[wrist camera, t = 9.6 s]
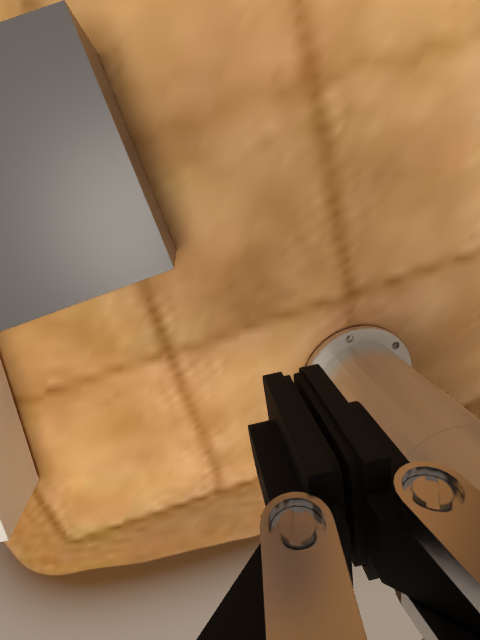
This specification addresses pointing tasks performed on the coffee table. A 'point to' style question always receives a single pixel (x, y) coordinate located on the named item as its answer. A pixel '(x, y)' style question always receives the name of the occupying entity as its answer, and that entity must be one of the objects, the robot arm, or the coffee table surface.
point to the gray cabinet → (67, 175)
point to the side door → (13, 463)
